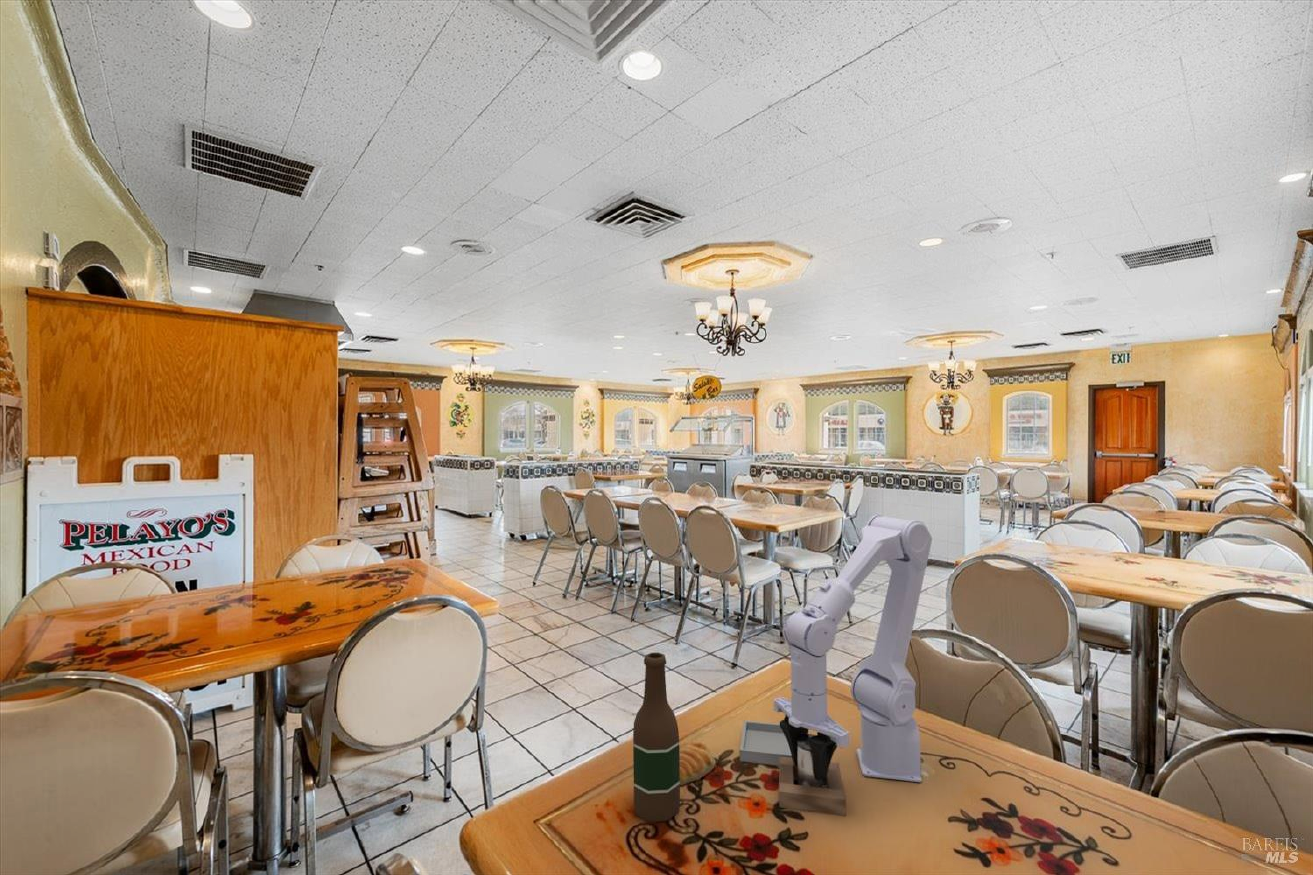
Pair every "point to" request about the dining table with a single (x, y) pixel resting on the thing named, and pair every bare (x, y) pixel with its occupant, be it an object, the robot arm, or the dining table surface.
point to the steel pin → (806, 763)
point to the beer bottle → (656, 748)
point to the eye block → (811, 790)
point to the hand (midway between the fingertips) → (810, 770)
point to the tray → (763, 743)
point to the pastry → (695, 762)
